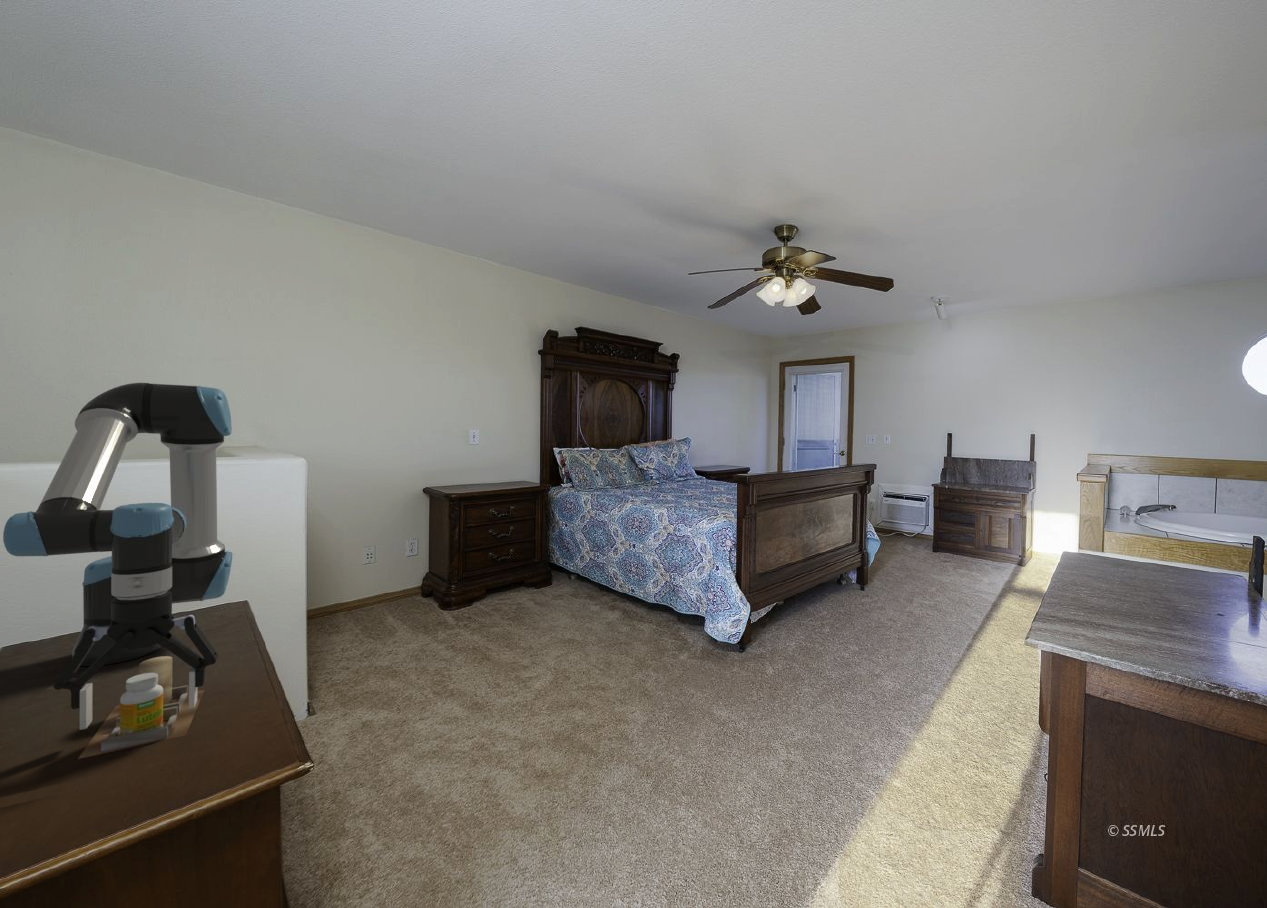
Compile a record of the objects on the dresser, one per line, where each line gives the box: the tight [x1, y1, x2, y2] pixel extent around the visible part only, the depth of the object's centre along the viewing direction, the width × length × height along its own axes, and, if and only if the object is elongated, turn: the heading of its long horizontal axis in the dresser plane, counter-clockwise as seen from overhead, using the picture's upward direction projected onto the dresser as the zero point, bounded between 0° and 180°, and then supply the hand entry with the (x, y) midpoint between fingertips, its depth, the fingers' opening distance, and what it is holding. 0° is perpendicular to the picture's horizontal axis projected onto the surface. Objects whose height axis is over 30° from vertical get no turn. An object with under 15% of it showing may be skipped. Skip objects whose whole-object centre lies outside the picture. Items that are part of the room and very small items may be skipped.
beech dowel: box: [138, 655, 173, 705], centre depth 95 cm, size 5×5×9 cm
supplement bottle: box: [119, 673, 163, 735], centre depth 87 cm, size 5×5×10 cm
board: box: [77, 684, 205, 760], centre depth 91 cm, size 18×13×3 cm
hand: (141, 714), depth 88 cm, fingers open, 13 cm apart
